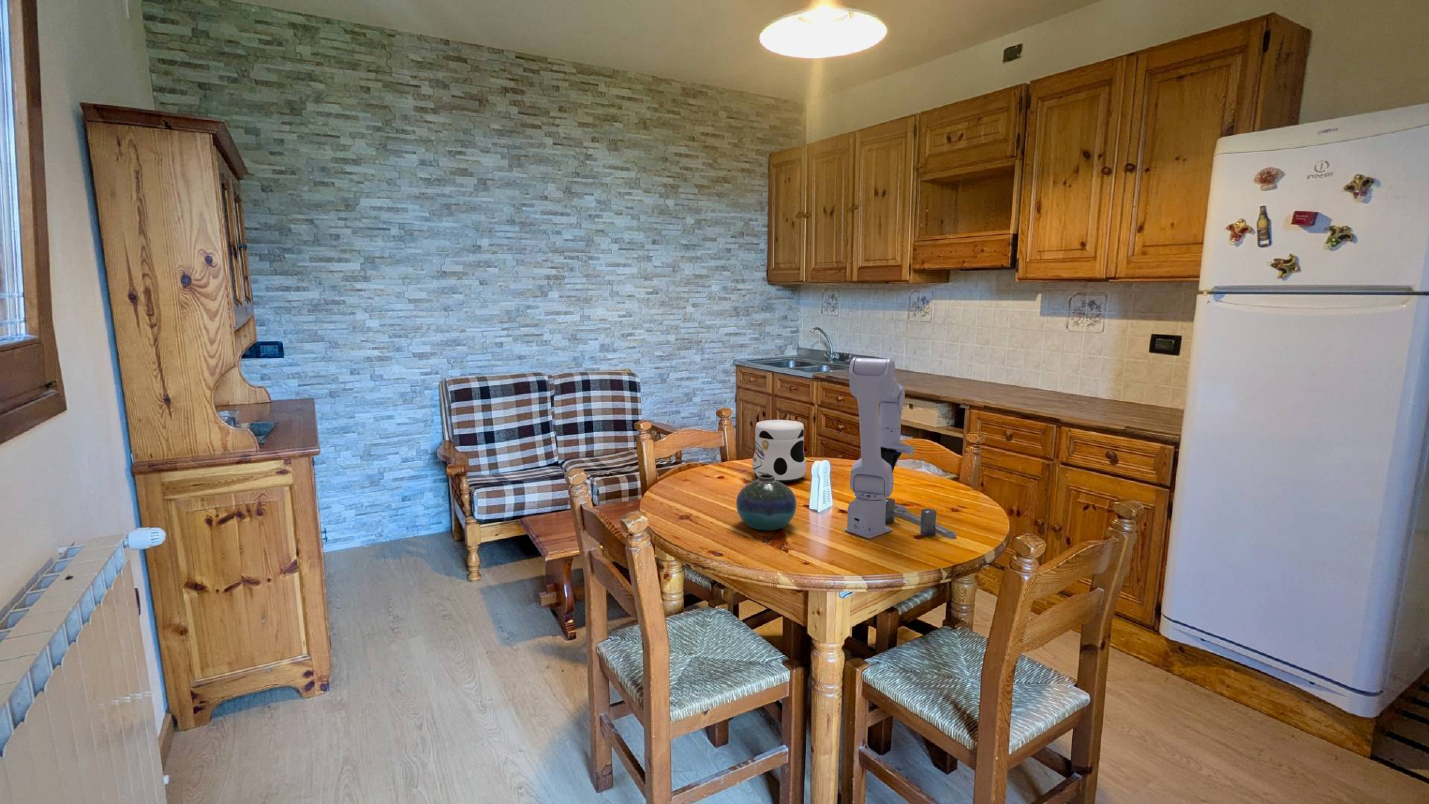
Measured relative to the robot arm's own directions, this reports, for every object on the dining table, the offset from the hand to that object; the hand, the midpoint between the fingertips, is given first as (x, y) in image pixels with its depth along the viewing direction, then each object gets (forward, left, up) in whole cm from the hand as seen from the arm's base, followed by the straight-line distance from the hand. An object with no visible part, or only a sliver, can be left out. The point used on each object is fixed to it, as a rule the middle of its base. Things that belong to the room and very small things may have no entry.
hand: (888, 475), depth 184 cm
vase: (-36, +11, -10) cm, 39 cm away
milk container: (-1, +41, -10) cm, 42 cm away
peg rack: (-9, -13, -9) cm, 19 cm away
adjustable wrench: (-4, -12, -10) cm, 16 cm away
